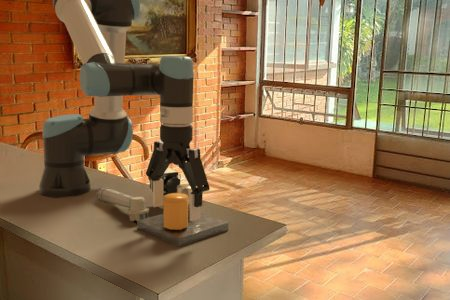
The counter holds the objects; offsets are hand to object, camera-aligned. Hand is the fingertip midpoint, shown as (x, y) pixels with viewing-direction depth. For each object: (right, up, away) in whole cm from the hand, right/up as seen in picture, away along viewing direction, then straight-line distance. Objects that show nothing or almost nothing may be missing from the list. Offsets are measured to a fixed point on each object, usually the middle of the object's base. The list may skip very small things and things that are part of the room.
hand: (175, 212), depth 117 cm
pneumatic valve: (-5, -1, +23) cm, 23 cm away
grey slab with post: (+1, -5, +5) cm, 7 cm away
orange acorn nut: (0, -3, +1) cm, 3 cm away
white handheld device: (-17, -2, +19) cm, 25 cm away
